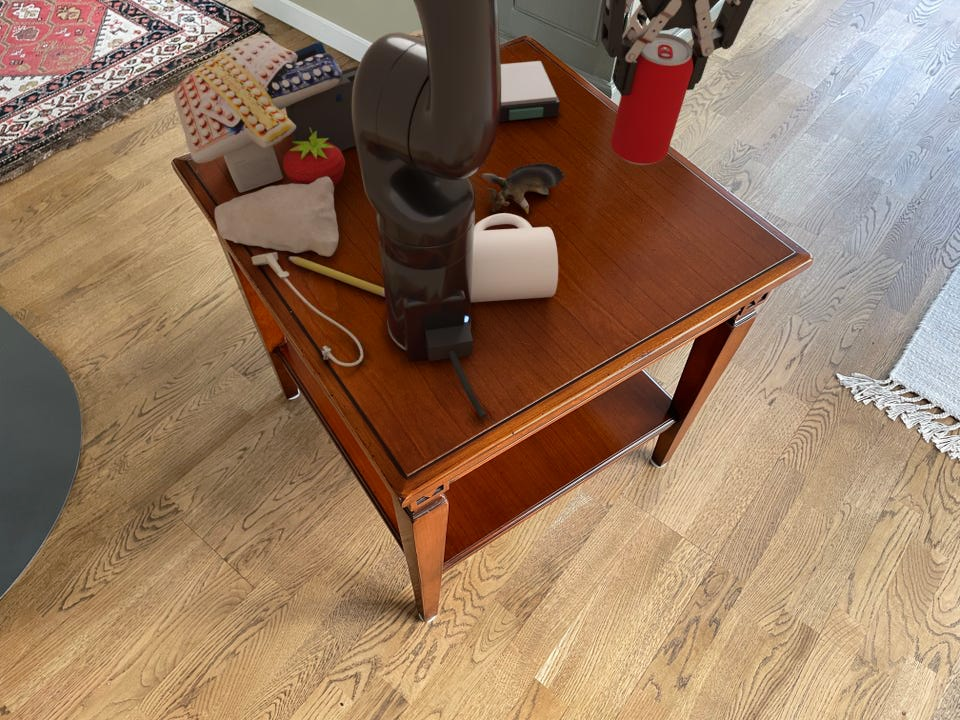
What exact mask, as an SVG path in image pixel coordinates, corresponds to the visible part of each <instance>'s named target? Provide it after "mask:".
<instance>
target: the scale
mask: <svg viewBox="0 0 960 720" xmlns="http://www.w3.org/2000/svg"><path fill="white" fill-rule="evenodd" d="M560 104H561V102H560V100H559V96H558V95H557V93H556V90H555V88H554V86H553V84H552V81H551V80H550V77H549V75H548V73H547V70H546V68H545V66H544V64H543V63H542V61H541V60H536V61H535V60H533V61H523V62H512V63H511V62H510V63H501V109H500V117H499V123H504V122H505V123H506V122H515V121H524V120H534V119H536V120H537V119H544V118H553V117H559V110H560Z"/></svg>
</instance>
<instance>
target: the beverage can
mask: <svg viewBox="0 0 960 720" xmlns="http://www.w3.org/2000/svg"><path fill="white" fill-rule="evenodd" d="M690 45H691V44H690V43H689V42H688V41H686V40H685V39H683V38H682V37H679V36H677V35H674V34H670V33H665V32H663V33H662V32H660V33H659V34H658V35H657V37H656V38H655V40H654V41H653V42H652V43H650V44H647V45H646V46H645V48H644V49H643V51H642V52H641V53H640V55H639V56H638V57H637V59H636V61H637V66H636V70H635V75H634V79H633V83H632V87H631V91H630V94H629V95H623V96H622V95H621V94H620V99H619V103H618V107H617V112H616V115H615V120H614V124H613V129H612V134H611V138H610V146H611V147H610V148H611V149H612V151H613V153H615V154H616V155H617V156H618V157H619V158H620V159H622V160H623V161H625V162H627V163H629V164H632V165H637V166H645V165H646V166H647V165H653V164H656V163H658V162H661V160H663V159H665V157H666V156H667V154H668V152H669V149H670V145H671V142H672V139H673V136H674V132H675V130H676V126H677V123H678V120H679V117H680V113H681V110H682V108H683V107H682V106H683V103H684V100H685V97H686V93H687V91H688V90H687V88H688V84H689V81H690V78H691V75H692V71H693V60H692V48H691V46H690Z"/></svg>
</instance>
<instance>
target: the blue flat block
mask: <svg viewBox="0 0 960 720" xmlns="http://www.w3.org/2000/svg"><path fill="white" fill-rule="evenodd" d="M293 52H294V53H296V55H297V62H296V63H298V62H300V61H303V60H305V59H307V58H309V57H312V56H314V55H318V54H327V51H326V49H325V46H324V44H323V42H321V41H317V42H314V43H312V44H309V45H307V46H305V47H302V48H300V49H298V50H296V51H293ZM336 99H337V102H338V101H341V100H342V96H341V94H338V95H337V96H336Z"/></svg>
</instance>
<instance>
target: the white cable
mask: <svg viewBox="0 0 960 720" xmlns="http://www.w3.org/2000/svg"><path fill="white" fill-rule="evenodd" d="M278 254H279V253H278V252H277V251H274V252H268V253H262V254H257V255H253V256H252V257H251V261H252V265H254V266H263V265H269V267H270V268H271V269H272V270H273V271H274V273H275V274H276V275H277V276H278V277H279V278H280V280H283V281H284V282H285V283H286V284H287V285H288V287H289V288H290V289H291V290H292V291H293V293H295V295H297V297H298V298H299V299H300V300H301V301H302V302H303V303H304V304H306V306H308V307H309V308H310V309H311V310H312V311H314V312H315V313H316V314H317V315H319V316H320V317H322V318H323V319H325V320H327V321H328V322H329V323H332V324H333V325H334V326H336V327H337V328H339V329H340V330H342V331H343V332H344V333H345V334H347V335H348V336H349V337H350V338H351V339H352V340H353V341H354V342H355V344H356V345H357V348H358V350H359V354H360V355H359V359H358V360H356V361H354V362H349V363H347V362H342V361H340V360H338V359H337V358H336V357H335V356H334V355H333V354H332V352H331V351H332V348H331V347H329V346H328V345H324V346H322V347H321V354H322V356H323V361H326V360H329V359H330V360H331V361H333V362H334V363H335V364H337V365H339V366H341V367H345V368H347V367H348V368H349V367H355V366H357V365H359V364H360V363H361V362H362V361H363V359H364V350H363V347H362V345H361V343H360V341H359V340H358V338H357V337H356V336H355V335H354V334H353V333H352V332H351V331H349V330H348V329H347V328H346V327H344V326H343V325H341V324H340V323H338V322H336V321H335V320H333V319H332V318H330V317H329V316H327V315H326V314H324V313H323V312H321V311H320V310H319V309H317V308H316V307H315V306H313V305H312V303H310V302H309V301H308V300H307V299H306V298H305V297H304V296H303V295H302V294H301V293H300V292H299V291H298V290H297V289H296V288H295V286H294V285H293V284H292V283H291V282H290V280H289V279H288V277H289V276H290V272H289V271H287V270H285V271H284V270H283V269H282V267H281V266H280V264H279V263H278V261H279V255H278Z"/></svg>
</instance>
